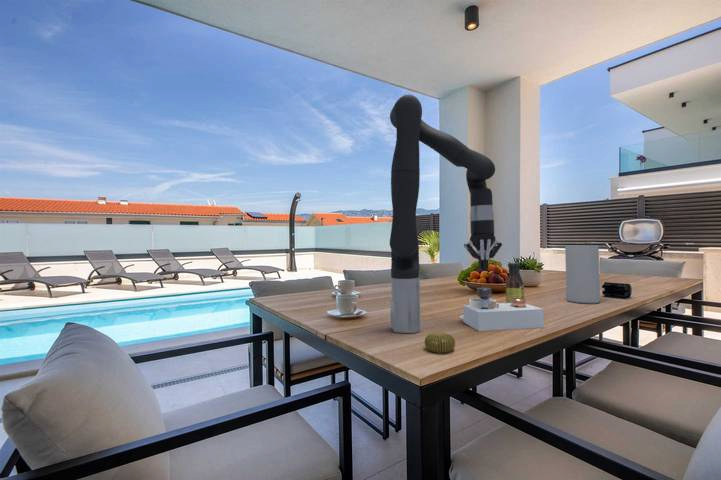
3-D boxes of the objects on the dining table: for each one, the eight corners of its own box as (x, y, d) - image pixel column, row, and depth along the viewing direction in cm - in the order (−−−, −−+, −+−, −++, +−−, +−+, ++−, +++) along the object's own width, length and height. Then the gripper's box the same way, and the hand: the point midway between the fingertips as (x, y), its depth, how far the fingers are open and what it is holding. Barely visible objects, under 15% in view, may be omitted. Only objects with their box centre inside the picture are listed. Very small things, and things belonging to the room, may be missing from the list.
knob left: (481, 315, 112) (480, 289, 112) (475, 312, 116) (474, 287, 116) (494, 314, 112) (494, 289, 112) (487, 311, 117) (487, 287, 117)
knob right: (516, 325, 113) (515, 300, 113) (508, 322, 118) (508, 298, 118) (529, 324, 114) (528, 299, 114) (521, 321, 118) (520, 297, 118)
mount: (478, 331, 108) (478, 312, 108) (463, 322, 120) (463, 305, 120) (543, 327, 110) (543, 309, 110) (522, 319, 122) (521, 302, 122)
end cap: (632, 297, 158) (631, 283, 158) (627, 299, 154) (626, 284, 154) (606, 295, 166) (606, 281, 166) (601, 297, 162) (600, 282, 162)
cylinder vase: (605, 301, 150) (603, 245, 150) (592, 305, 143) (591, 246, 143) (574, 298, 160) (573, 245, 160) (561, 301, 153) (559, 246, 153)
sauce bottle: (527, 317, 124) (525, 263, 124) (508, 317, 126) (507, 263, 126) (522, 313, 131) (520, 262, 131) (504, 313, 132) (503, 262, 132)
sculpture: (418, 335, 92) (437, 329, 97) (418, 349, 92) (437, 343, 97) (441, 341, 85) (461, 334, 90) (442, 357, 85) (461, 350, 90)
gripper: (467, 219, 110) (469, 272, 110) (506, 218, 111) (508, 271, 111) (458, 220, 117) (460, 270, 117) (495, 219, 119) (496, 269, 119)
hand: (483, 270), depth 114 cm, fingers closed
